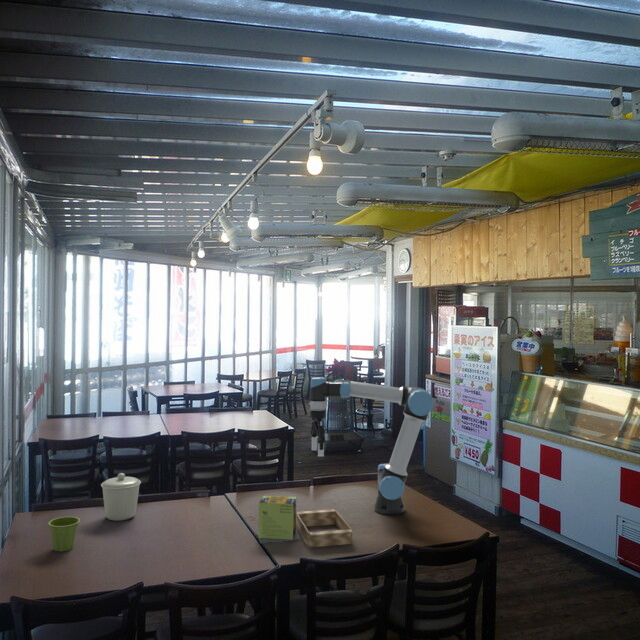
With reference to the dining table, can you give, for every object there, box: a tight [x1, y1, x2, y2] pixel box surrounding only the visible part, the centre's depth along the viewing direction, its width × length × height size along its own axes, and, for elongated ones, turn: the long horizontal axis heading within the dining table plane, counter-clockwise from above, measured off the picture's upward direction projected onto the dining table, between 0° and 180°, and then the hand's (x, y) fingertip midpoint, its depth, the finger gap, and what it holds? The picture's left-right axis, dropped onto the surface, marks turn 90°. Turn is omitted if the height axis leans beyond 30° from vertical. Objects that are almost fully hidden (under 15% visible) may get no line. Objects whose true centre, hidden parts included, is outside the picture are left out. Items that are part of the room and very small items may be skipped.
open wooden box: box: [296, 508, 353, 548], centre depth 255 cm, size 19×30×6 cm, turn 14°
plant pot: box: [48, 516, 81, 553], centre depth 236 cm, size 12×12×11 cm
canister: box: [100, 472, 142, 522], centre depth 275 cm, size 18×18×21 cm
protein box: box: [257, 495, 297, 540], centre depth 252 cm, size 10×15×16 cm
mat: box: [256, 531, 300, 544], centre depth 252 cm, size 17×12×1 cm
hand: (317, 453), depth 279 cm, fingers open, 13 cm apart
